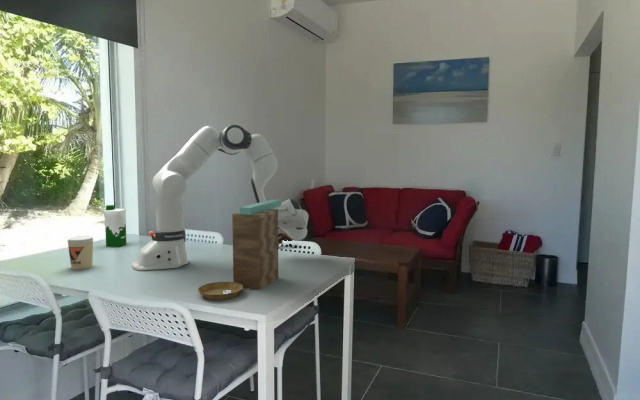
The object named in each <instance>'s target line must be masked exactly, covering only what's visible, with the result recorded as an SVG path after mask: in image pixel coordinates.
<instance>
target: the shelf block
mask: <svg viewBox="0 0 640 400" xmlns="http://www.w3.org/2000/svg"><path fill="white" fill-rule="evenodd" d="M231 216H232V218H231V219H232V220H231V221H232V268H233V269H232V271H233V274H232V275H233V280H232V282H235V283H239V284H241V285H242V286H243V288H242V289H247V288H249V289H248V290H255V289H257V291H260V290H261V289H263V288H264V286H265V287H266V286H268V285H269V284H271V283H273V282H274V281H276V280H277V279H279V244H278V239H279V238H278V234H279V229H278V209H269V210H266V211H262V212H259V213H255V214H252V215H245V214H240V211H237V212H234V213H232V215H231ZM272 281H273V282H272ZM267 284H268V285H267Z"/></svg>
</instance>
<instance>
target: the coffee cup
mask: <svg viewBox="0 0 640 400" xmlns="http://www.w3.org/2000/svg"><path fill="white" fill-rule="evenodd" d="M67 245H68V246H67V247H68V254H69V260H70V267H71V269H72V270H85V269H89V268H92V267H93V262H94V261H93V260H94V258H93V257H94V254H93V253H94V238H93V236H91V235H77V236H72V237H69V238H67Z"/></svg>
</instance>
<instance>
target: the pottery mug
mask: <svg viewBox="0 0 640 400" xmlns="http://www.w3.org/2000/svg"><path fill="white" fill-rule="evenodd" d="M283 240H284V241H287V240H288V241H292V242H293V240H292V238H291V237H289V236H288V235H287V234H286V232H284V231H283V232H282V231H281V232H280V233H279V232H278V245H280V244H281V245H283Z"/></svg>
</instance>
